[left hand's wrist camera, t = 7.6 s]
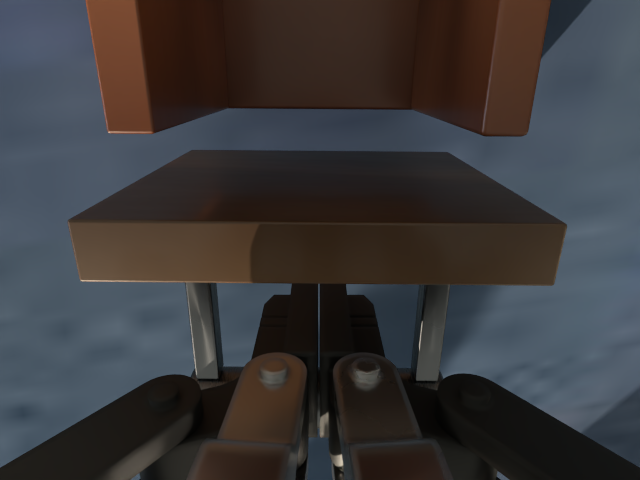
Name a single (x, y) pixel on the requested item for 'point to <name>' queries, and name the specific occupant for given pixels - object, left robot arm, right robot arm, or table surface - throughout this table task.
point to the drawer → (318, 155)
